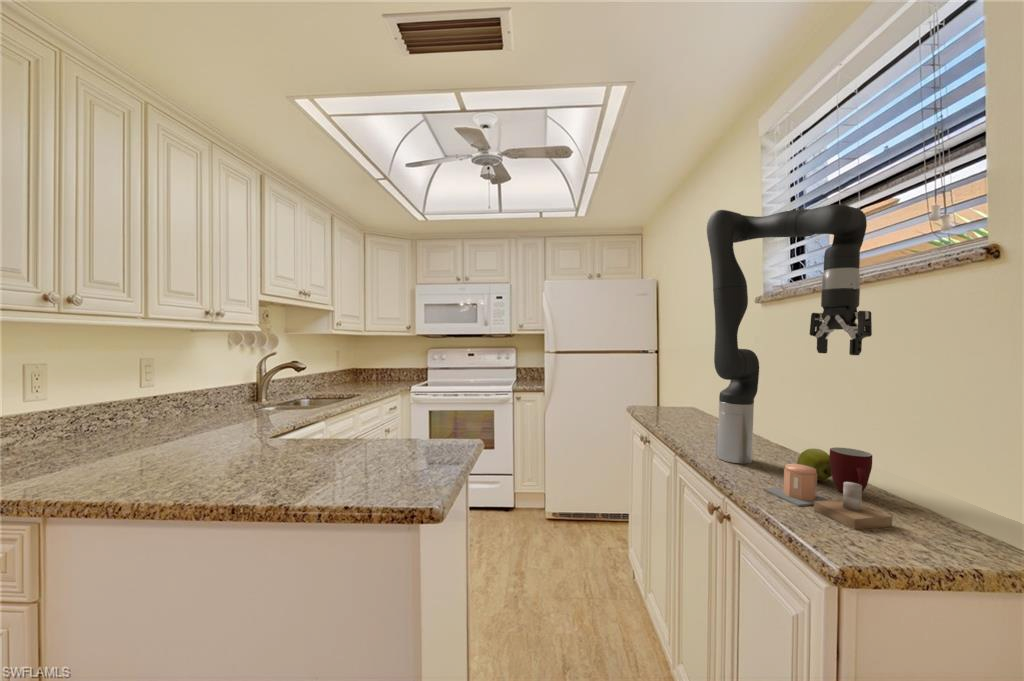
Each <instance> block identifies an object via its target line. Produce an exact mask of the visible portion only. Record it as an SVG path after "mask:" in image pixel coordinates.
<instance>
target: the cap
mask: <svg viewBox="0 0 1024 681" xmlns="http://www.w3.org/2000/svg"><path fill="white" fill-rule="evenodd" d="M783 487H784V490H783V493H785V494H787V495H788V496H790V497H794V498H798V499H802V500H814V499H815V498H816V497H817V494H818V493H817V491H818V480H817V473H816V469H815V468H813V467H810V466H806V465H801V464H797V463H786V464H785V468H784V469H783Z"/></svg>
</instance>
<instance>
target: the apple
mask: <svg viewBox="0 0 1024 681" xmlns="http://www.w3.org/2000/svg"><path fill="white" fill-rule="evenodd" d="M829 456H830V454H828V453H827V452H826V451H824V450H822V449H820V448H808V449H807V448H806V450H803V451H802V452H801V453H800V454H799V456H798V458H797V460H796V461H797V462H796V464H801V465H806V466H810V467H813V468H815V469H816V473H817V481H825V480H827V479H829V478H831V477H832V472H831V466H830V458H829Z"/></svg>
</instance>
